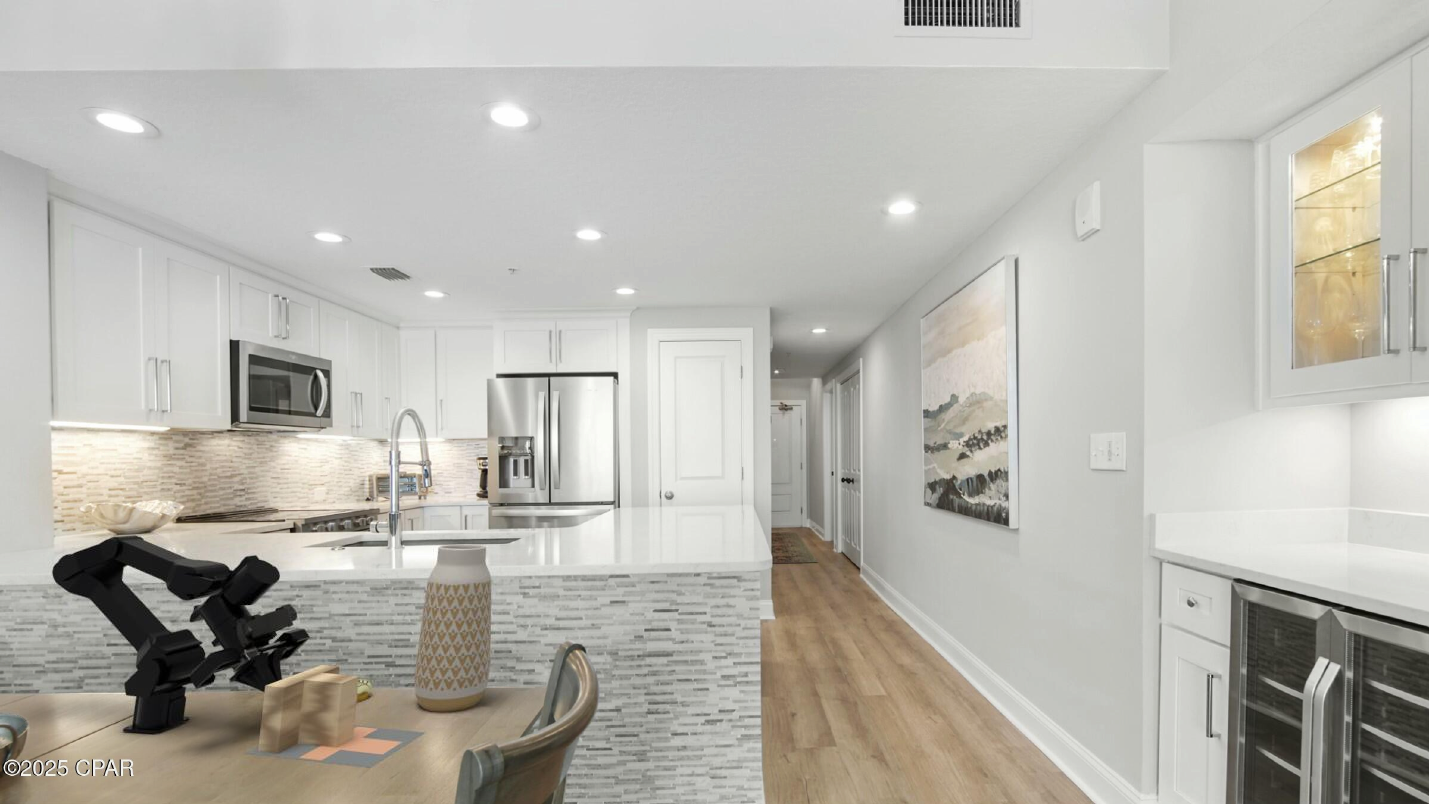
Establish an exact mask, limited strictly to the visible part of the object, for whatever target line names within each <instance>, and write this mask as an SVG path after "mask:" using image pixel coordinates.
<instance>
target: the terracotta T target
mask: <svg viewBox="0 0 1429 804" xmlns="http://www.w3.org/2000/svg"><path fill="white" fill-rule="evenodd" d="M375 730H377V729H375V728H365V727H356V728H354V736H353V739H351V740H349V741H347V742H345V743H343V744H342V745H340V746H338V747H336V748H334V747H324V746H320V747H318V748H316V749H314V750H312V751H311V752H309V753H307V754H305V755H303V756H301V757H299V758H304V759H313V760H323V759H325V758H327V757H329V756H330V755H332V754H334V753H336V752H338V751H339V750H346V751H355V752H364V753H373V754H382V755H383V754H384V753H386V752H387V751H389V750H391V749H392V748H394V747H395V746H397V745H399V744H400V743H402V742H398V741H388V740H379V739H369V738H363V737H364V736H366V735H368V734H370V733H372V732H373V731H375Z"/></svg>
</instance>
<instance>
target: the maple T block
mask: <svg viewBox="0 0 1429 804" xmlns="http://www.w3.org/2000/svg"><path fill="white" fill-rule="evenodd" d="M359 677H360V676H359V675H350V674H349V675H348V674H340V666H339V665H327V664H326V665H325V664H321V665H317V666H315V667H313V668H310V669H306V670H305V671H302V672H298V673H297V674H293V675H291V676H287V677H285V678H282V680H280V681H277V682H274V683H271V684H269V685H266V686H265V692H263V693H264V694H263V695H264V696H263V705H262V714H261V723H260V731H259V741H258V747H259V748H258V752H266V753H275V754H278V753H280V752H282V751H284V750H286V749H288V748H290V747H292V746H294V745H296V744H306V745H315V746H324V747H334V748H336V747H338V746H340V745H342V744H343V743H345V742H347V741H349V740H351V739H353V736H354V725H356V723H355V722H356V713H357V703H358V702H357V692H358V681H359Z"/></svg>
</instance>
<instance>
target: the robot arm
mask: <svg viewBox="0 0 1429 804" xmlns="http://www.w3.org/2000/svg"><path fill="white" fill-rule="evenodd" d="M126 567H131V568H133V569H135V570H138V571H140V572H142V573H145V574H147V575H149V576H152V577H154V578H156V579H159V580H160V581H162V582H163V583H165V585H166V589H167V590H168V592H170V593H171V594H173V595H174V596H175V597H177V598H178V599H180V600H182V601H187V602H188V601H194V600H198V599H204V598H207V599H206V600H204V601H203V602H202V603H201V604H196V605H193V610H192V613H191V614H190V616H189V622H190V623H195V622H200V621H204V622H205V624H206V625H207V627H208V628H209V629H210V631H211V632H212V634H213V635H214V639H213V640H212V641H211V645H212V647H213V648H216V647H219V646H221V648H222V649H221V650H217V651H216V650H215V651H212V652H210V653H209V654H208V655H207V653H206V651H205V649H204V648H203V646H202V645H203V643H204V642H203V641H200V640H198V638H197V637H195V635H194V633H193V632H192V631H191V630H190V629H188V628H185V629H180V630H177V631H170V630H169V629H168V628H167V627H166V626H165V625H164V624H163V623H162V622H161V621H160V620H159V618H158V617H157V616H156V615H155V614H154V613H153V612H152V610H150V609H149V608H148V607H147V606H146V604H145V603H144V602H143V601H142V600H141V599H140V598H139V597H138V596H137V595H136V594H135V592H134V591H133V590H131V588H130V587H129V586H128V585H127V584H126V583H125V582H124V581H123V577H124V571H125V570H124V569H125V568H126ZM51 574H52V577H53V580H54V582H55V583H56V584H57V586H60V587H61V588H62V589H63V590H65V591H67V593H69V594H73V595H75V596H79V597H82V598H85V599H88V600H89V601H91V602H92V603H93V604H94V606H95V607H97V609H98V610H99V611H100V612H101V613H102V614H103V615H104V616H105V617H106V618H107V620H108V621H109V622H110V623H111V624H112V625H113V627H114V628H116V630H117V631H118V632H119V633H120V634H121V635H122V636H123V638H124V639H126V641H127V642H128V643H129V644H130V645H131V647H133V648H134V650H135V651H136V661H135V668H136V669H137V670H136V671H135V672H134V673H133V674H132V675H131V676H130V677H129V678H128V679H126V681H125V682H124V684H123V685H124V692H125V695H126V696H127V697H135V701H134V710H133V718H132V724H130V725H128V726H124V727H123V728H122V731H123V732H129V733H142V734H159V733H162V732H164V731H166V730H169V729H171V728H174V727H176V726H178V725H180V724H183V723H185V722H188V721H189V720H190V718H191V717H190V716H185V712H186V705H187V704H186V702H187V696H186V689H187V685H191V684H193V686H194V687H195V689H196V690H199V689H202V688H204V687H207V686H211V685H212V684H213V683H215V680H216V678H217V676H216V674H217V673H220V672H222V671H226V670H228V669H232V672H233V675H232V676H231V677H230V678H229V681H230V682H231V683H233V682H237V683H240V684H243V685H245V686H249V687H251V688H253V689H256V690H258V691H260V692H263V693H265V686H266V685H269V684H271V683H274V682H277V681H280V680H282V679H283V676H282V669H281V668H282V667H281V662H283V661H286V660H288V659H289V658H292V656H293V655H295V653H296V652H297V651H299V649H301V647H302V646H303V645H304V644H305V643H306V642H308V641H309V640H310V638H311V636H310V635H309V634H308V632H307V631H306V630H305V628H295V629H292V630H288V631H285V632H284V631H283V633H282V634H281V635H280V636H279V637H277V636H278V633H277V632H279V631H280V630H281V631H282V630H283V629H285V628H290V627H292V626H294V623H293V622H295V621H296V620H297V618H298V612H297V611H296V609H295V608H294V607H293V605H291V603H287V604H283V605H281V606H279V607H277V608H275V610H273V611H270V612H267V613H264V614H262V615H261V614H259V613H258V614H254V615H252V613H251V612H250V611H249V609H248V608H247V607H246V606H252V605H255V604H256V603H257V602H258V601H259V600H260V599H261V598H262V597H264V595H265V594H266V593H267V592H268V591H269V590H270V589H271V588H272V587H274V585H276V583H278V582H279V580H280V579H281V578H280V577H281V574H280V571H279V568H277V566H274V565H273V564H271V563H270V562H268V561H266V560H263V559H260V558H259V557H258V555H255V554H253V555H248V556H247V555H246V556H245V557H244V558H243V559H242V560H241V561H240V563H238V565H237V566H236V567H235V568H234V569H233V570H232V569H230V567H229V566H228V565H227V564H225V563H224V562H223V563H222V562H218V561H214V560H205V559H204V560H203V559H201V560H200V559H193V558H192V559H191V558H187V557H185V556H182V555H180V554H178V553H176V552H173V551H171V550H168V549H167V548H164V547H161V546H159V545H156V544H155V543H154V544H153V543H152V542H149V541H148V540H145V539H144V538H143V537H142V536H138V535H135V534H133V535H132V534H131V535H120V536H112V537H110V538H107V539H105V540H103V541H102V542H100V543H97V544H95V545H92V546H89V547H86V548H84V549H81V550H78V551H75V552H72V553H69V554H67V553H66V554H64V555H63V556H61V557H60V558H59V559H58V561H57V562H56V563H54V565H53V567H52V571H51ZM276 637H277V638H276ZM275 638H276V639H275ZM274 639H275V640H274ZM272 640H274V641H273V642H272V643H270V641H272ZM206 655H207V656H206Z"/></svg>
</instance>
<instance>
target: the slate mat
mask: <svg viewBox="0 0 1429 804" xmlns="http://www.w3.org/2000/svg"><path fill="white" fill-rule="evenodd" d="M356 727H365V728H375V729H377V730H375V731H373V732H372V733H370V734H368V735H366V736H364V737H363V738H369V739H379V740H388V741H398V742H402V743H400V744H399V745H397V746H395V747H394V748H392V749H391V750H389V751H387V752H386V753H384V754H383V755H382V754H373V753H364V752H355V751H346V750H339V751H338V752H336V753H334V754H332V755H330V756H329V757H327V758H325V759H323V760H313V759H304V758H299V757H301V756H303V755H305V754H307V753H309V752H311V751H312V750H314V749H316V748H318V747H320V746H315V745H306V744H296V745H294V746H292V747H290V748H288V749H286V750H284V751H282V752H280V753H278V754H275V753H266V752H258V748H259V746H257V747H255V748H252V749H250V750H248V751H247V752H246V751H245V752H244V754H245V755H252V756H253V755H255V756H260V757H261V756H262V757H270V758H271V757H272V758H281V759H290V760H298V761H306V762H314V763H324V764H325V763H326V764H331V765H332V764H333V765H342V766H351V767H359V768H366V769H367V768H369V769H371V768H372V767H374V766H376V765H377V764H379V763H380V762H382V761H384V760H385V759H386V758H388V757H390V756H392V755H393V754H394V753H396V752H398V751H399V750H400V749H403V748H404V747H406V746H407V745H409V744H410V743H412V742H413V741H415V740H416V739H418V738H419V737H421V736H423V735H425V734H426V732H423V731H414V730H413V731H412V730H402V729H396V728H395V729H394V728H384V727H376V726H375V727H374V726H367V725H366V726H365V725H356V724H355V725H354V728H356Z"/></svg>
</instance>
